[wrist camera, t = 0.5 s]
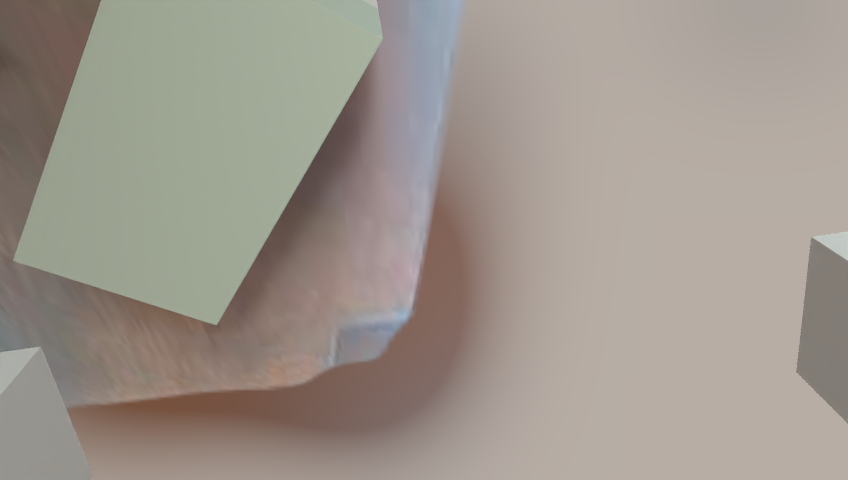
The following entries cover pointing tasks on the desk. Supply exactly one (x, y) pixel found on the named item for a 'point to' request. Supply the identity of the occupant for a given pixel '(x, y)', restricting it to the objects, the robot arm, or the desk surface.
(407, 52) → the desk surface
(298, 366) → the desk surface
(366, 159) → the desk surface
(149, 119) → the block
